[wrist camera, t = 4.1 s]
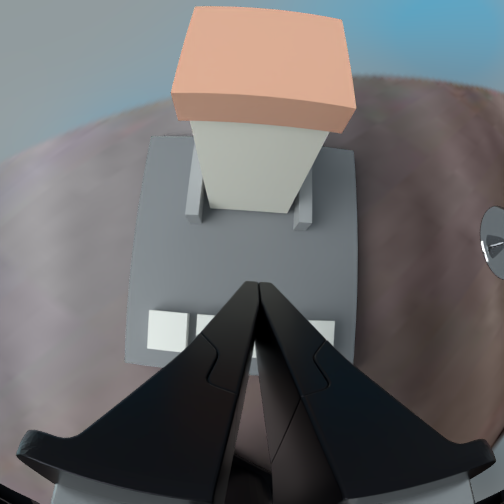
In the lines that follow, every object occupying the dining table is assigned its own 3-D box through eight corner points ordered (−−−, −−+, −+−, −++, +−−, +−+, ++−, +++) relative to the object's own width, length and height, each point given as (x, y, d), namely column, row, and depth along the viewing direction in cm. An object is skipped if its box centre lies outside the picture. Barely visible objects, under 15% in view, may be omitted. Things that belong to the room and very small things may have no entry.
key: (291, 218, 21) (356, 108, 9) (205, 212, 21) (170, 92, 9) (292, 155, 22) (341, 19, 10) (212, 149, 22) (194, 6, 9)
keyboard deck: (346, 372, 21) (363, 381, 18) (130, 359, 20) (114, 367, 17) (348, 152, 24) (362, 132, 21) (155, 138, 23) (146, 116, 20)
